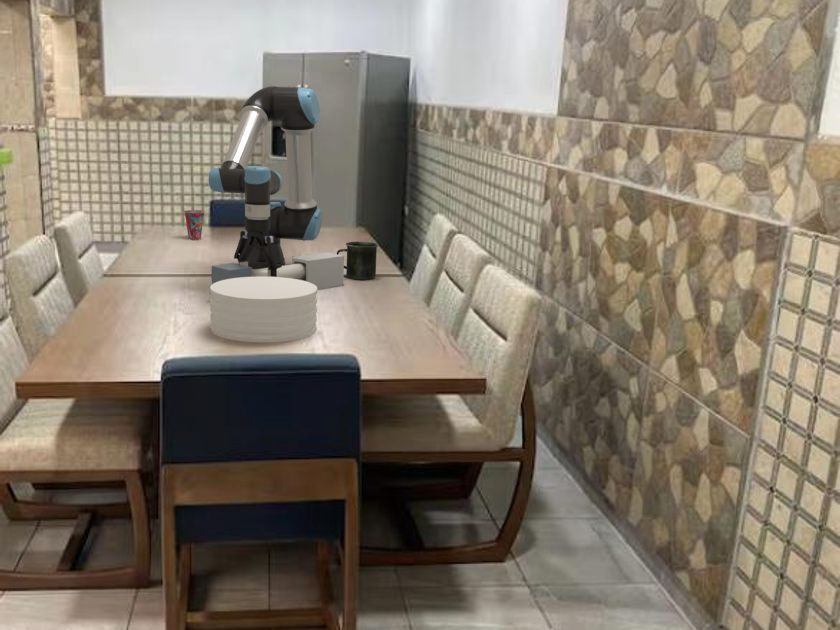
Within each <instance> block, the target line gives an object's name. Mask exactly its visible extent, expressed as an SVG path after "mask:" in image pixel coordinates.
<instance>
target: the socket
mask: <svg viewBox="0 0 840 630" xmlns="http://www.w3.org/2000/svg"><path fill="white" fill-rule="evenodd" d="M252 269H253V268H252V267H248V266H244V265H240V264H239V263H235V262H231V263H230V262H229V263H222V264H215V265H214V264H213V265H211V285H212V284H214V283H216V282H218V281H222V280H226V279H232V278H240V277H252Z"/></svg>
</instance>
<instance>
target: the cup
mask: <svg viewBox="0 0 840 630" xmlns="http://www.w3.org/2000/svg"><path fill="white" fill-rule="evenodd" d="M183 212H184V215H185V223H186V224H185V225H186V229H187V236H188V237H187V238H188V240H189V239H190V241H191V240H192V241H199V240H198V239H200V240H201V239H202V233H203V223H204V218H205V217H204V216H205V213H206V212H205V210H203V209H202V210H200V209H189V210H184V211H183Z"/></svg>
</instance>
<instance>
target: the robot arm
mask: <svg viewBox="0 0 840 630" xmlns="http://www.w3.org/2000/svg"><path fill="white" fill-rule="evenodd" d="M239 118H240V120H239V123H238V125H237V127H236V129H235V132H234V135H233V137H232V140H231V143H230V144H229V147H228V150H227V152H226V154H225V157H224V159H223V162H222V165H221V166H220V167H219V166H218V167H213V168H211V170H210V171H209V172H208V173H209V174H208V185H209V188H210V190H211V191H212V192H217V193H224V194H225V193H226V194H244V216H245V219H244V229H245V230H241V231H240V234H239V235H240V237H239V241H238V243H237V246H236V250H235V251H234V252H235V253H234V256H233V258H234V259H235V260H237V261H238V264H240V265H244V266H248V267H252V269H253V270H256V269H263V268H268V269H267V277H277V269H278V268H281V267H282V266H285V265H286V259H285V257H284V252H283V249H282V245H281V239H283V240H294V241H295V240H296V241H297V240H298V241H315V240H316V239H317V238H318V237H319V234H320V232H321V229H322V222H323V210H322V209H321V208H318V203H317V201H315V199H313V178H312V177H313V175H312V173H313V172H312V144H311V142H312V141H311V140H312V138H311V132H313V130H314V129H315V128H316V127H315V125H316V124H318V123H319V122H320V103H319V98H318V95H317V93H316V92H315V91H314V90H313V89H312V88H306V87H299V86H272V85H271V86H265V87H264V88H263V87H262V88H260V89H259V90H257V91H255V93H253V94H251V95H250V96H249V97H248V99H246V101H245V102H244V104H243V105H242V108H241V110H240V113H239ZM269 122H277V123H280V129H281V130H282V131H283V132H284V133H285V154H286V175H287V176H286V177H287V178H286V179H287V197H288V198H287V200H285V202H284V203H283V204H284V206H282V204H281V202H279V201H271V196H273V195H276V194H277V193H278V192H280V191H281V190H282V188H283V183H284V182H283V177H282V176H281V174H280V173H279V172H278V171H276V170H274V169H273V170H272V169H270V168H269V167H268V166H260V165H252V166H251V165H250V166H248V165H249V163H250V160H251V157H252V155H253V153H254V150H255V147H256V145H257V142H258V140H259V137H260V136H261V135H260V134H261V133H262V130H263V129H264V128H265V127H266V126H267V125H268V123H269Z"/></svg>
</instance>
